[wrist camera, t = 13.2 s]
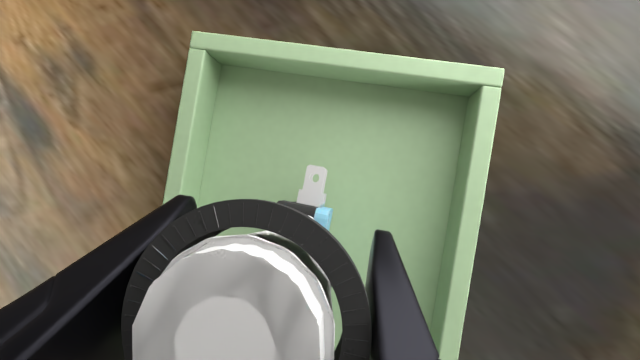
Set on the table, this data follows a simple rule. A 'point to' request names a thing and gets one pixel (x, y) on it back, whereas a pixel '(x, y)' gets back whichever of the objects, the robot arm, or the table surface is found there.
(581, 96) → the table surface
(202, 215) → the push button
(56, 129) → the table surface
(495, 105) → the tray
